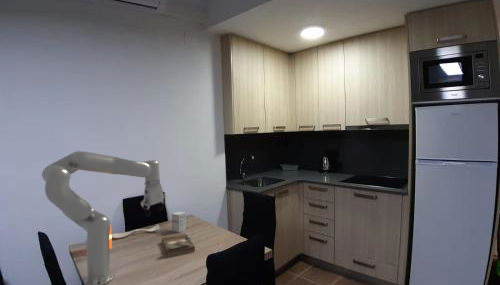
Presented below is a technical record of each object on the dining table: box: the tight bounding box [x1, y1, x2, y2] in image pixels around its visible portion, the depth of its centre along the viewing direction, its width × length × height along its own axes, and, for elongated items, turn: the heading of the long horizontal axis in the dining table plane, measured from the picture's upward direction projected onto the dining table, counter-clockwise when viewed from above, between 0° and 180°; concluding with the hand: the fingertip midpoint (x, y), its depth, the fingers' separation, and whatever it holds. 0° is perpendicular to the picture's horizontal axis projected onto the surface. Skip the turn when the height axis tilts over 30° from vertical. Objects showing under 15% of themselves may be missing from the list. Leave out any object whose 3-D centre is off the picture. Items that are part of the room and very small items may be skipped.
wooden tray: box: [161, 232, 196, 258], centre depth 164 cm, size 24×15×6 cm, turn 27°
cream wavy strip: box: [111, 224, 162, 239], centre depth 186 cm, size 9×32×4 cm, turn 118°
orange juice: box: [109, 223, 113, 250], centre depth 163 cm, size 8×9×20 cm
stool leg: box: [167, 238, 192, 249], centre depth 156 cm, size 13×3×4 cm, turn 117°
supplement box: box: [171, 211, 187, 234], centre depth 192 cm, size 7×7×13 cm
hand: (154, 213), depth 149 cm, fingers open, 9 cm apart
